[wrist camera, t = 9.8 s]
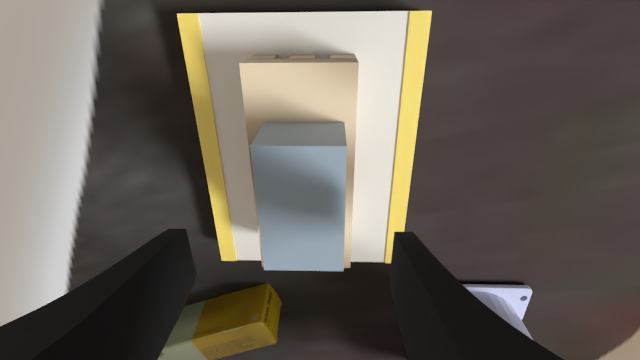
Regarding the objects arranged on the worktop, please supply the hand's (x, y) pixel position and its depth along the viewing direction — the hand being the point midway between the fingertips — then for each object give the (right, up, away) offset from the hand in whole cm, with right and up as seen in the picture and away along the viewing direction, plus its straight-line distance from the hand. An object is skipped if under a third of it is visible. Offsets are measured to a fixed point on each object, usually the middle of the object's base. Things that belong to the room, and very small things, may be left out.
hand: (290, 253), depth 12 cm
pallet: (0, +4, +7) cm, 8 cm away
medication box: (-8, -8, +17) cm, 20 cm away
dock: (0, +5, +9) cm, 10 cm away
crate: (0, +2, +5) cm, 5 cm away
